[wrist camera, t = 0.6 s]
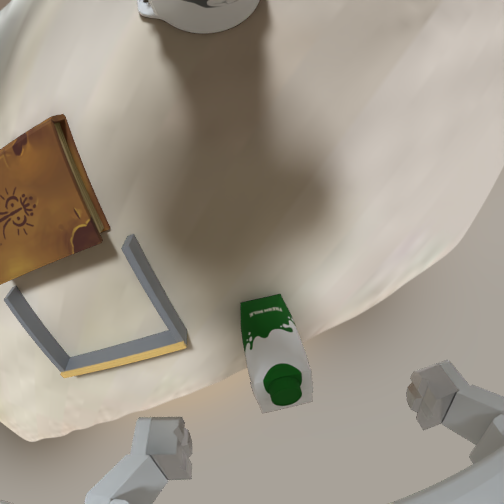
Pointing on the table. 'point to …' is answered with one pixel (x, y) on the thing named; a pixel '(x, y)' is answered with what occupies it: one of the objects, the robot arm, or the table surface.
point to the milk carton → (274, 355)
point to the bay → (115, 354)
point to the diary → (45, 200)
